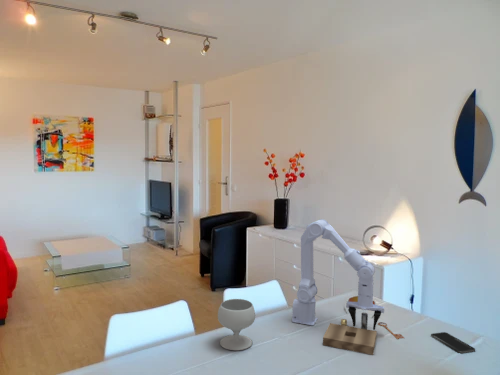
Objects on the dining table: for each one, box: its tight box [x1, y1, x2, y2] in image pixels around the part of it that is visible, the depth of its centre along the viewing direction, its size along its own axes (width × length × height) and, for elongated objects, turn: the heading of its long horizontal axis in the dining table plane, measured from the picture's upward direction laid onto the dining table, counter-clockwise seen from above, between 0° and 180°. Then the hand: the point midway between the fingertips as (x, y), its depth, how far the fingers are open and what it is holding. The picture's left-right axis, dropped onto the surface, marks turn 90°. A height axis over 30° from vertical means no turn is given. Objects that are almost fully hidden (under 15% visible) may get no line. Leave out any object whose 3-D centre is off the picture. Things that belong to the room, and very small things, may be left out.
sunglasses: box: [344, 294, 378, 319], centre depth 180 cm, size 14×15×5 cm
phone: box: [430, 331, 476, 355], centre depth 149 cm, size 8×1×15 cm
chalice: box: [217, 298, 256, 351], centre depth 146 cm, size 14×14×15 cm
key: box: [377, 321, 405, 340], centre depth 160 cm, size 6×1×15 cm
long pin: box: [360, 312, 369, 330], centre depth 157 cm, size 2×2×8 cm
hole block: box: [322, 322, 378, 356], centre depth 149 cm, size 18×14×3 cm
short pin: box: [340, 318, 348, 326], centre depth 160 cm, size 2×2×4 cm
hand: (364, 327), depth 157 cm, fingers open, 7 cm apart
